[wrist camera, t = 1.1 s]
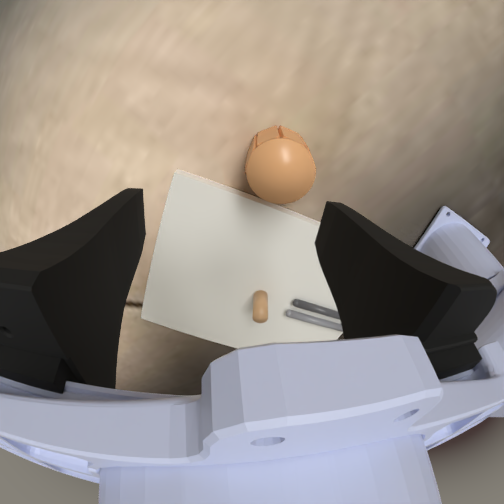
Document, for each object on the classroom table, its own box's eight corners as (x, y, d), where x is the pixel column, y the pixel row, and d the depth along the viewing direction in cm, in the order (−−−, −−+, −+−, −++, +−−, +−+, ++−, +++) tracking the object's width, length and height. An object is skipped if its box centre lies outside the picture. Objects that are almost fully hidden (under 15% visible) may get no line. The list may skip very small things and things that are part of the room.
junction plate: (397, 256, 27) (412, 281, 23) (311, 359, 36) (313, 385, 33) (177, 168, 23) (163, 186, 19) (143, 311, 32) (132, 337, 29)
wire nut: (315, 141, 21) (327, 156, 17) (291, 188, 23) (297, 213, 20) (262, 118, 20) (262, 128, 16) (240, 168, 23) (236, 189, 19)
